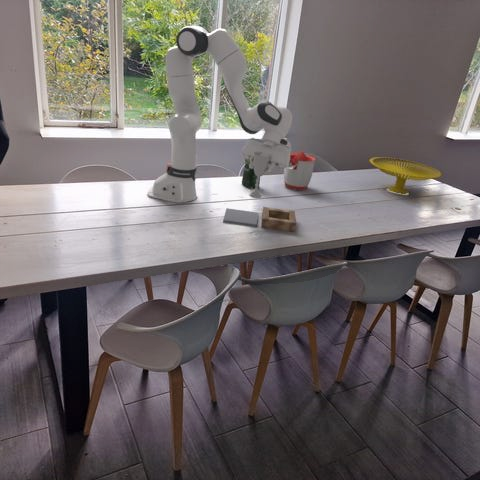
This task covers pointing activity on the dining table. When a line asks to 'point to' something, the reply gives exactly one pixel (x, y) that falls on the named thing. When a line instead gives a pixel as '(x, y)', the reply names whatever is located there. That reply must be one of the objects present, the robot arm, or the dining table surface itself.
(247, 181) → the coffee jar
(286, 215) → the walnut holder
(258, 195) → the chalice
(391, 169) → the cake stand
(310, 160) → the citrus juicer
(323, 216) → the dining table surface
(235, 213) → the grey mat
